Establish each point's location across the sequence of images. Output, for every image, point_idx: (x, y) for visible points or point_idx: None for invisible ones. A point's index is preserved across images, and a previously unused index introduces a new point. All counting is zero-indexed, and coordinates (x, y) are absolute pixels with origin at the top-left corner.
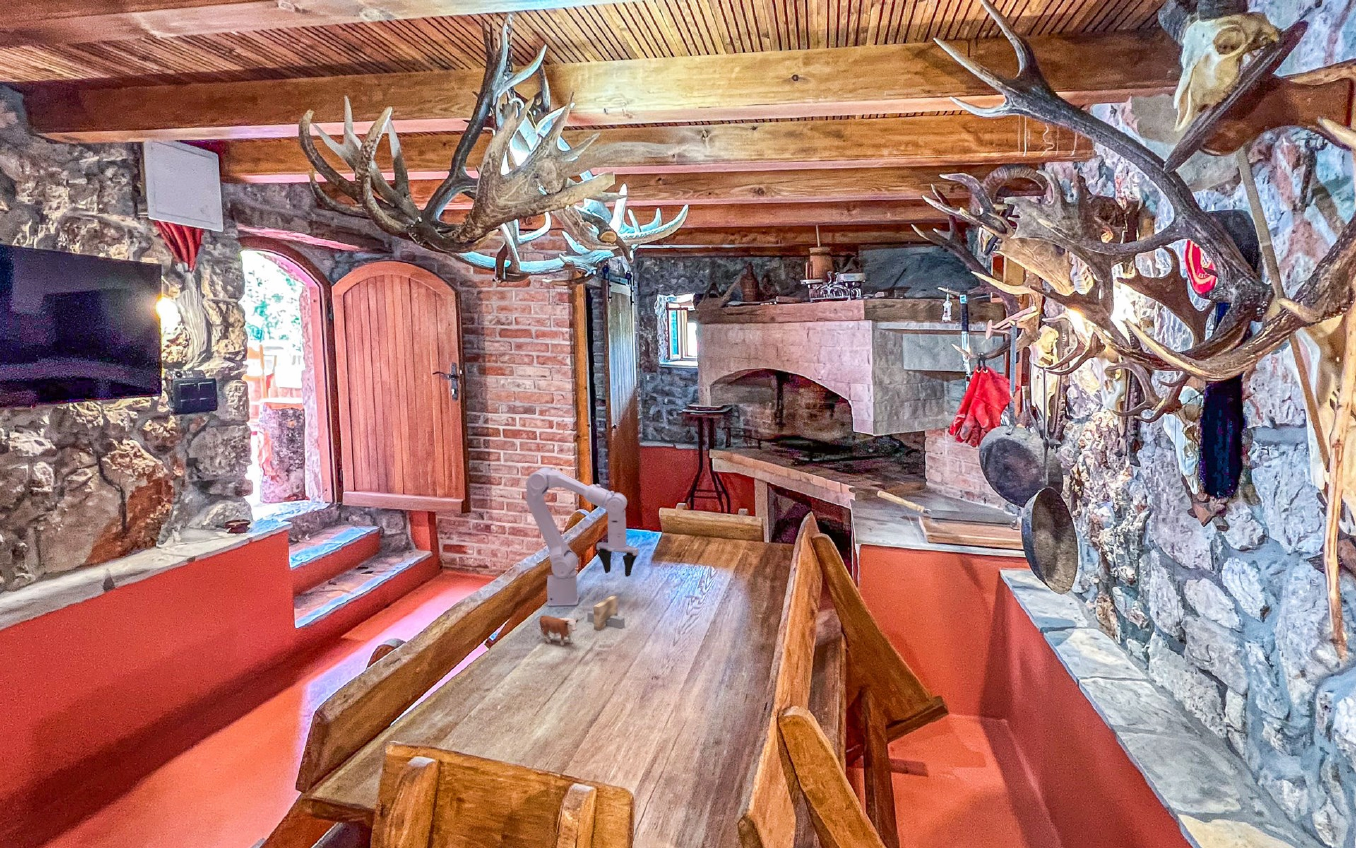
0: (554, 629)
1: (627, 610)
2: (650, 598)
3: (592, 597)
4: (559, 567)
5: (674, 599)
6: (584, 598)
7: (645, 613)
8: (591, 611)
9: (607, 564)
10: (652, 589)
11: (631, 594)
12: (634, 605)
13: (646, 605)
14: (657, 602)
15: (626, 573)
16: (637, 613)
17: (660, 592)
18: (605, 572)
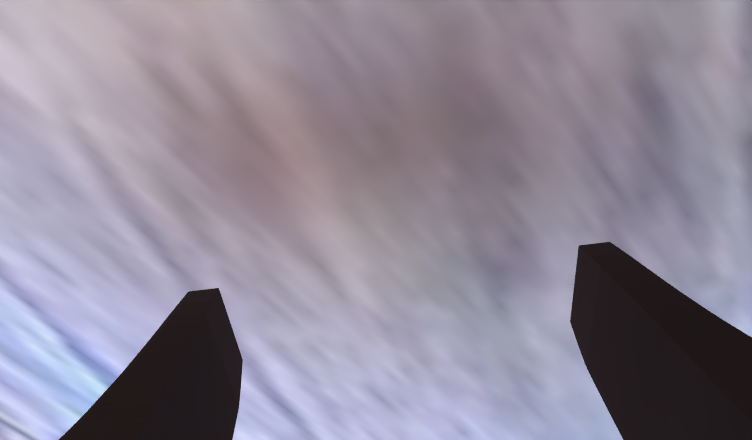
0: None
1: (193, 37)
2: (245, 323)
3: (678, 107)
4: None
5: (100, 385)
6: (742, 47)
7: (4, 74)
8: None
9: (642, 377)
10: (350, 424)
11: (416, 309)
12: (236, 164)
13: (157, 215)
14: (143, 298)
15: (167, 322)
16: (58, 30)
17: (270, 417)
18: (607, 246)
